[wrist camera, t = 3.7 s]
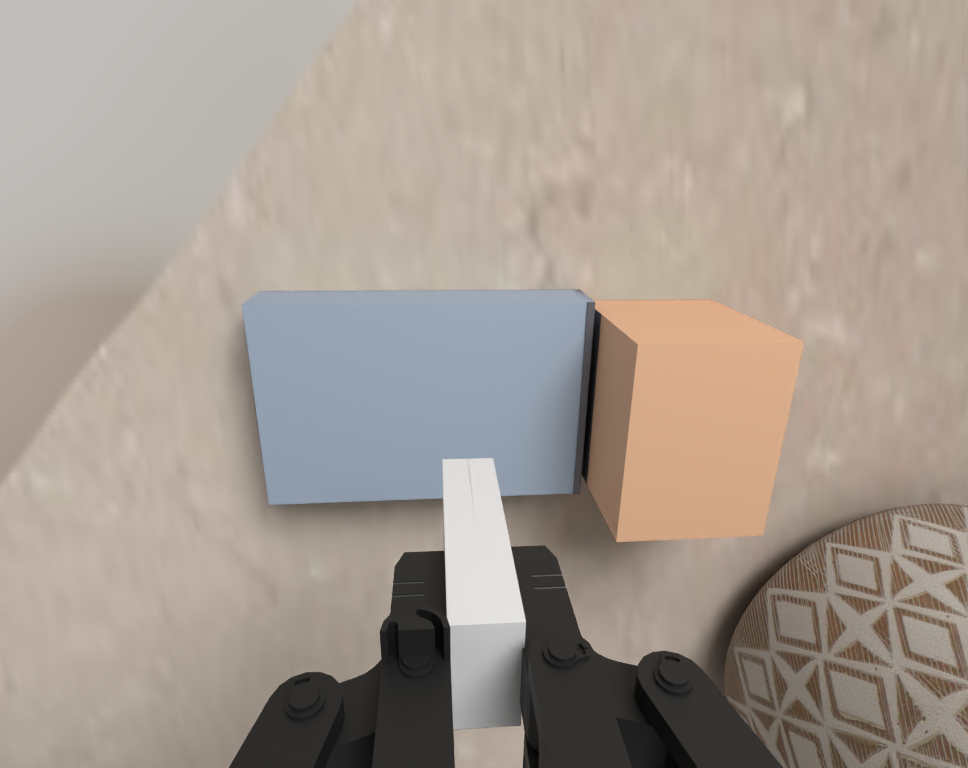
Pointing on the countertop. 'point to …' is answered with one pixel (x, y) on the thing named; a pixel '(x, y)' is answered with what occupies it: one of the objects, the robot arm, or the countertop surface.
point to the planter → (862, 646)
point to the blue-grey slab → (418, 390)
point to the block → (685, 418)
